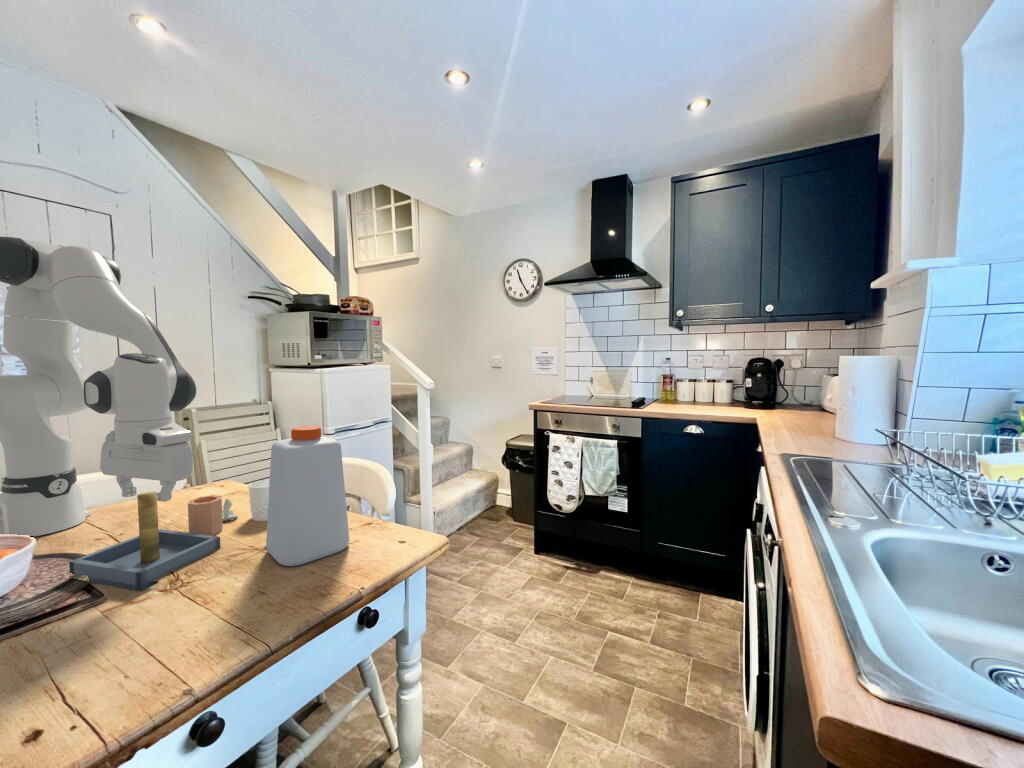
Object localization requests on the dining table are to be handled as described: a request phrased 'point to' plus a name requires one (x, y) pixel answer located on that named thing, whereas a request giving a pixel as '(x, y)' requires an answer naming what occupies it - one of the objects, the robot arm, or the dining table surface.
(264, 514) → the white cup
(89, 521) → the dining table surface
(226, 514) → the pacifier
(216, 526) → the terracotta cup
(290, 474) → the plastic bottle
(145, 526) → the dowel pin
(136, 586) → the navy tray
